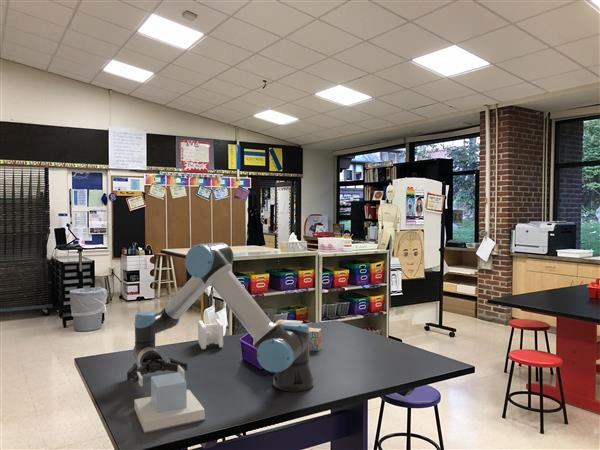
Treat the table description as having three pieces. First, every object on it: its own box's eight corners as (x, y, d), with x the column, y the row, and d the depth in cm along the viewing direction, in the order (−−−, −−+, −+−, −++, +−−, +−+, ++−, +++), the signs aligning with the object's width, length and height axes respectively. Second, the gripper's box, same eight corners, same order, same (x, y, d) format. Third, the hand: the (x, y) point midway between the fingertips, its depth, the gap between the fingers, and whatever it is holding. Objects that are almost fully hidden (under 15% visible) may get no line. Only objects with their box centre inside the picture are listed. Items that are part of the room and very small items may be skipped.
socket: (204, 420, 143) (204, 409, 143) (144, 433, 135) (144, 421, 135) (189, 399, 159) (189, 389, 159) (134, 410, 150) (134, 399, 150)
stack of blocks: (321, 347, 219) (321, 322, 219) (318, 351, 213) (318, 325, 213) (279, 344, 226) (279, 319, 225) (274, 347, 220) (274, 322, 219)
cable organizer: (223, 349, 216) (223, 324, 216) (200, 351, 213) (200, 326, 212) (218, 340, 230) (218, 317, 230) (197, 342, 227) (196, 319, 226)
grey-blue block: (186, 415, 145) (186, 382, 144) (157, 421, 140) (157, 387, 140) (179, 403, 154) (178, 372, 153) (151, 408, 149) (150, 376, 149)
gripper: (183, 364, 177) (200, 383, 159) (114, 375, 165) (123, 397, 146) (183, 345, 177) (199, 361, 158) (114, 355, 165) (123, 373, 146)
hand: (163, 378), depth 152 cm, fingers open, 13 cm apart
